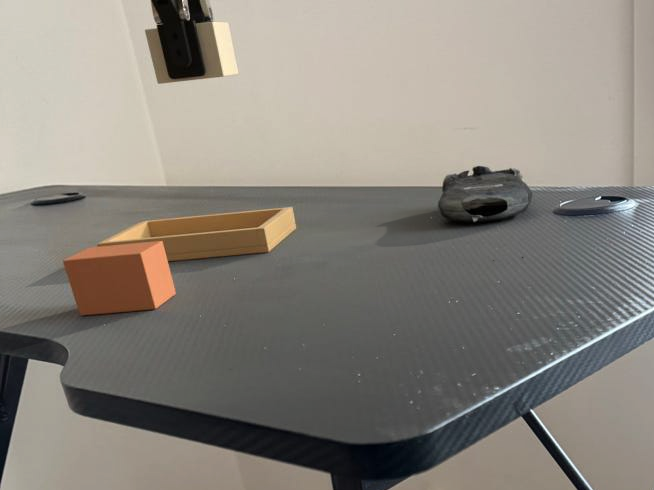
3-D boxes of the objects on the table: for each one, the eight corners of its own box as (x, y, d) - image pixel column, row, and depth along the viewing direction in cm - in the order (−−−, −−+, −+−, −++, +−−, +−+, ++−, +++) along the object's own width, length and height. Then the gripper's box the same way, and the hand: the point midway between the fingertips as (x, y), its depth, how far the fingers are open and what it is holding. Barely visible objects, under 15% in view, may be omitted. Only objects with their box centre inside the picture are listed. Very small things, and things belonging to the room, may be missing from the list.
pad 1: (79, 316, 70) (62, 260, 68) (104, 300, 75) (88, 247, 72) (155, 309, 70) (140, 253, 68) (176, 293, 74) (162, 240, 72)
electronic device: (436, 221, 101) (438, 222, 87) (437, 164, 99) (439, 156, 85) (521, 224, 102) (536, 226, 88) (524, 168, 99) (539, 160, 86)
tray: (103, 267, 88) (96, 243, 87) (148, 242, 98) (142, 221, 97) (269, 252, 86) (264, 227, 85) (296, 228, 97) (292, 206, 96)
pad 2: (157, 84, 81) (144, 29, 79) (175, 81, 85) (163, 29, 83) (223, 76, 81) (212, 21, 78) (238, 74, 85) (228, 22, 83)
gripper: (131, -167, 80) (186, 77, 90) (45, -210, 66) (123, 85, 76) (214, -178, 80) (261, 68, 90) (146, -224, 66) (211, 75, 75)
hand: (197, 73), depth 83 cm, fingers closed on pad 2, 5 cm apart
